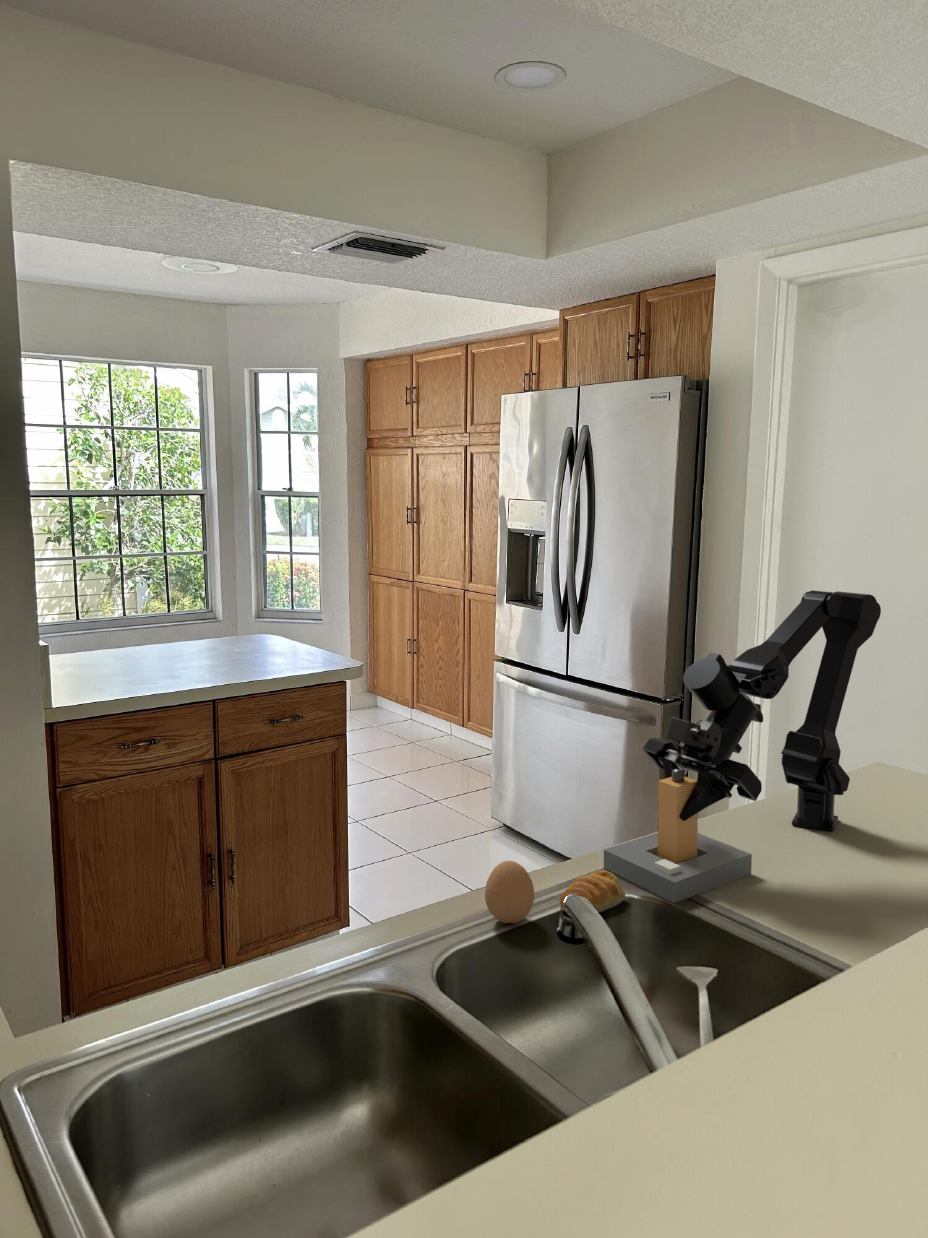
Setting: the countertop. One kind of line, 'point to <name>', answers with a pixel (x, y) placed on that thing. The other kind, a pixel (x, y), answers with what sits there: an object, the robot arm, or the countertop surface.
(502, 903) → the egg
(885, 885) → the countertop surface
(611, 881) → the pastry
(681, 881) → the socket
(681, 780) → the plug
